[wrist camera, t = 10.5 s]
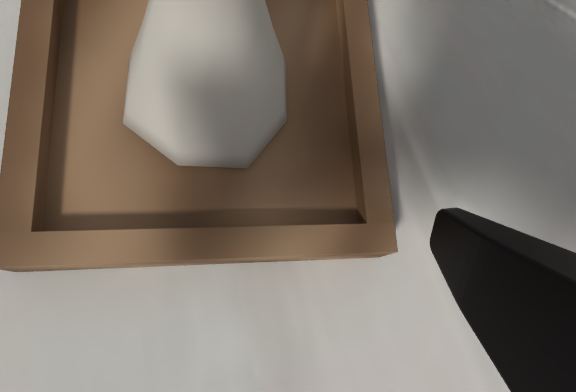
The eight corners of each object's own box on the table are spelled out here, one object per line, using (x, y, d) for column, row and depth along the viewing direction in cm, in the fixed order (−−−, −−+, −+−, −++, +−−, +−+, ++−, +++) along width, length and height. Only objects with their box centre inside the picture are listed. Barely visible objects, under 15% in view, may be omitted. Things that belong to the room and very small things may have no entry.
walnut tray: (348, -19, 23) (360, -49, 21) (378, 257, 19) (397, 251, 17) (48, -46, 20) (31, -83, 18) (15, 272, 16) (-11, 267, 14)
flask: (161, 1, 19) (113, -302, 10) (308, 58, 20) (399, -173, 10) (93, 137, 17) (-59, -80, 7) (260, 196, 17) (318, 66, 8)
